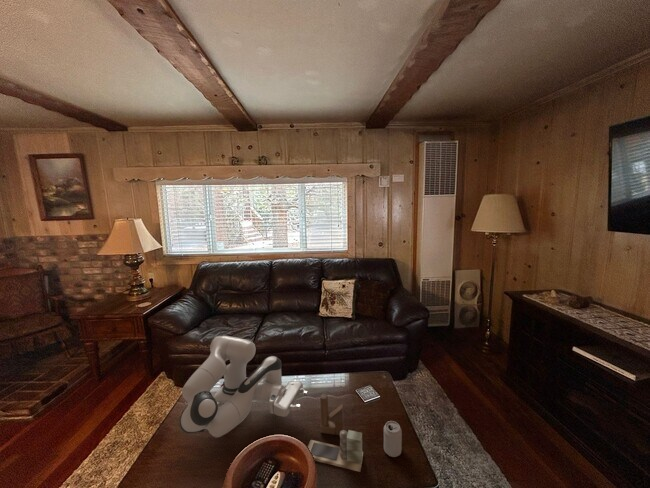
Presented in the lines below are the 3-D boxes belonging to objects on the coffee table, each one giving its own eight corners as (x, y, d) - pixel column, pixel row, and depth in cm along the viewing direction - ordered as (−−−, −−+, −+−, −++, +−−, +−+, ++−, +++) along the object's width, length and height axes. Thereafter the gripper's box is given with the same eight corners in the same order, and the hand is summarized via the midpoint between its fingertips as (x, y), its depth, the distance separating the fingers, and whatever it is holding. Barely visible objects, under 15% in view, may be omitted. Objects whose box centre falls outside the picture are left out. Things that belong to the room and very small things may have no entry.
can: (381, 443, 119) (381, 419, 118) (397, 442, 120) (398, 418, 118) (386, 459, 112) (386, 434, 110) (404, 457, 113) (404, 432, 111)
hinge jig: (304, 457, 114) (303, 432, 112) (310, 441, 121) (309, 417, 120) (360, 472, 107) (360, 445, 105) (363, 454, 115) (363, 429, 113)
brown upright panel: (342, 436, 124) (342, 401, 121) (320, 433, 126) (319, 398, 123) (343, 429, 128) (343, 395, 125) (321, 427, 129) (320, 393, 127)
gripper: (287, 386, 142) (312, 391, 138) (268, 416, 123) (295, 422, 119) (287, 376, 141) (311, 380, 137) (267, 403, 122) (295, 410, 118)
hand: (304, 400), depth 128 cm, fingers open, 8 cm apart
